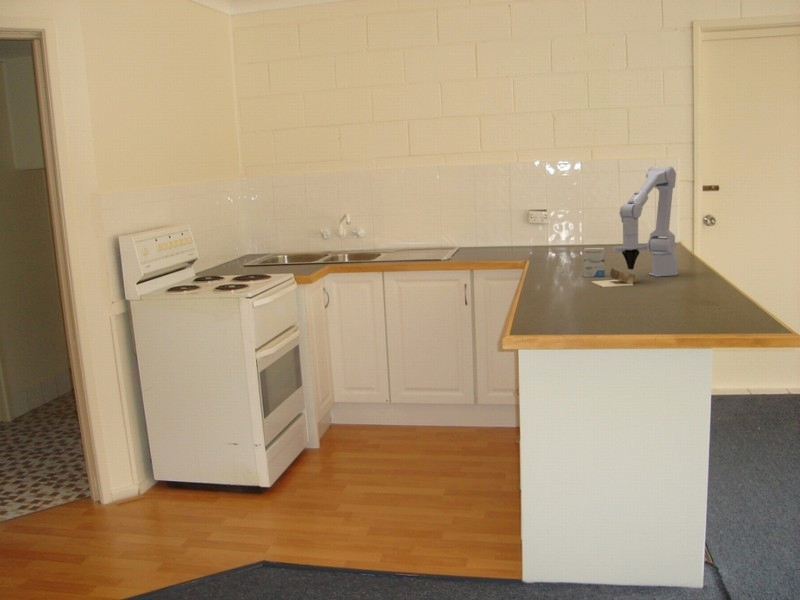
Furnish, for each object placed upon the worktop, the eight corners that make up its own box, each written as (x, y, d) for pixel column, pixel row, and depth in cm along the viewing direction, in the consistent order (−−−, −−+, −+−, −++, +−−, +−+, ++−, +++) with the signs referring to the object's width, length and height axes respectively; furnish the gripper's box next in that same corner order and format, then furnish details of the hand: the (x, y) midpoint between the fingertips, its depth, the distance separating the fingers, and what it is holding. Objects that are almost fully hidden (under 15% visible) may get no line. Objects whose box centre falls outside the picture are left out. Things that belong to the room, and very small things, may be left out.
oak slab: (627, 272, 306) (611, 268, 306) (635, 275, 298) (618, 271, 298) (625, 281, 307) (609, 276, 306) (632, 284, 299) (616, 279, 298)
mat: (620, 280, 310) (620, 279, 310) (633, 285, 296) (633, 284, 296) (591, 282, 309) (591, 281, 309) (603, 287, 295) (603, 286, 295)
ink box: (604, 274, 326) (604, 247, 324) (604, 276, 322) (604, 248, 320) (584, 275, 329) (583, 247, 327) (583, 277, 324) (583, 249, 322)
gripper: (642, 232, 305) (642, 266, 307) (608, 235, 302) (608, 269, 305) (651, 233, 298) (651, 268, 300) (616, 236, 295) (617, 271, 298)
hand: (630, 269), depth 302 cm, fingers closed
